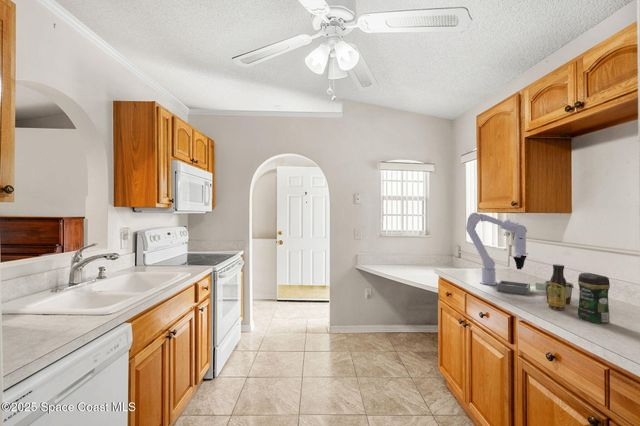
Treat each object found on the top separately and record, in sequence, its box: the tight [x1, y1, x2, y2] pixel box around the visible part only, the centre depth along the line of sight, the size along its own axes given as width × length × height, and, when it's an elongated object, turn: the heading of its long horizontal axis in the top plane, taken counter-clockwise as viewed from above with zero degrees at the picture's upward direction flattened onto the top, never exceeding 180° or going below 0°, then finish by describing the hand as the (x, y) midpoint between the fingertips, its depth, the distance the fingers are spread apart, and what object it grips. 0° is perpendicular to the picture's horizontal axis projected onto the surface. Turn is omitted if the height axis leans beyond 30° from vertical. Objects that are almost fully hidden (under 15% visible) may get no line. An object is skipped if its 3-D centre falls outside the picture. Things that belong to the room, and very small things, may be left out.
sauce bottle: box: [547, 263, 567, 311], centre depth 145 cm, size 7×6×20 cm
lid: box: [530, 281, 546, 293], centre depth 181 cm, size 13×15×4 cm
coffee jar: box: [577, 272, 611, 325], centre depth 129 cm, size 10×8×19 cm
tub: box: [496, 280, 531, 296], centre depth 177 cm, size 12×14×4 cm
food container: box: [543, 280, 575, 306], centre depth 155 cm, size 12×6×10 cm, turn 84°
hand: (520, 268), depth 190 cm, fingers open, 7 cm apart
